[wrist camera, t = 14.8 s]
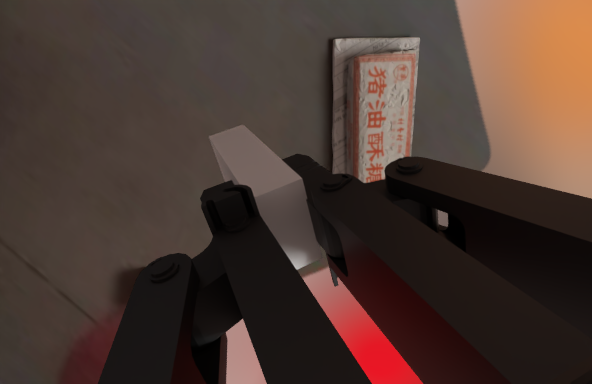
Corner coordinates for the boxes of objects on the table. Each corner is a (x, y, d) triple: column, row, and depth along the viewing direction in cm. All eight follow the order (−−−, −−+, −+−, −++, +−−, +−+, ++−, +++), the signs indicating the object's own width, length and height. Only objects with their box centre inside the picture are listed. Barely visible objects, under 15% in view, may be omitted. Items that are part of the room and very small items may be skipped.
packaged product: (425, 200, 43) (346, 211, 41) (402, 188, 48) (330, 198, 45) (439, 33, 38) (348, 34, 35) (412, 37, 42) (330, 38, 40)
